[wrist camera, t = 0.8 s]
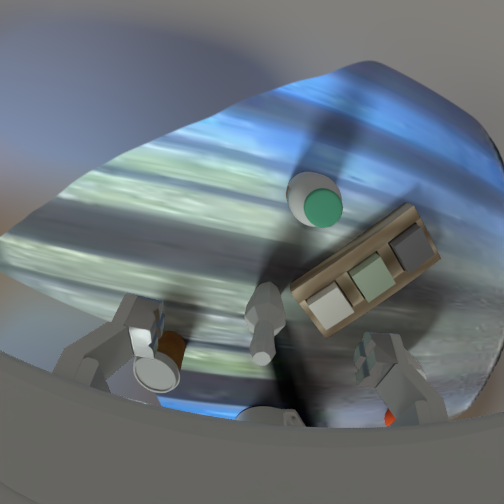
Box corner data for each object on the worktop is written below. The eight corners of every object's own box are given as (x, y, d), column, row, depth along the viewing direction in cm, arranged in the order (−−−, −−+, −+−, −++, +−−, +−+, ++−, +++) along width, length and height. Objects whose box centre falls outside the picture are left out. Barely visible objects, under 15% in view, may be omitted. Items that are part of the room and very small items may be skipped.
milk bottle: (289, 167, 54) (297, 169, 35) (332, 175, 54) (362, 182, 35) (282, 210, 56) (285, 235, 37) (324, 218, 56) (348, 246, 37)
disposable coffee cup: (184, 321, 64) (166, 352, 52) (199, 358, 66) (185, 393, 55) (145, 328, 65) (123, 357, 54) (161, 363, 68) (143, 396, 56)
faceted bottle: (244, 288, 61) (227, 351, 40) (272, 271, 59) (269, 330, 38) (262, 313, 62) (254, 384, 41) (290, 297, 61) (295, 364, 39)
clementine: (412, 408, 67) (420, 426, 60) (391, 422, 68) (397, 441, 62) (399, 394, 66) (408, 412, 59) (376, 409, 67) (383, 429, 60)
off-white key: (349, 302, 57) (354, 312, 54) (323, 320, 59) (326, 330, 55) (333, 278, 56) (337, 287, 52) (306, 297, 58) (308, 306, 54)
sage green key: (388, 275, 55) (395, 283, 52) (362, 293, 57) (368, 302, 53) (373, 250, 54) (380, 256, 50) (346, 269, 56) (351, 277, 52)
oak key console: (432, 252, 56) (440, 258, 52) (323, 328, 62) (325, 338, 58) (405, 202, 54) (413, 205, 50) (289, 284, 60) (290, 292, 56)
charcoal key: (425, 248, 53) (434, 254, 50) (401, 266, 55) (409, 273, 51) (412, 222, 52) (420, 226, 48) (386, 241, 54) (394, 246, 50)
